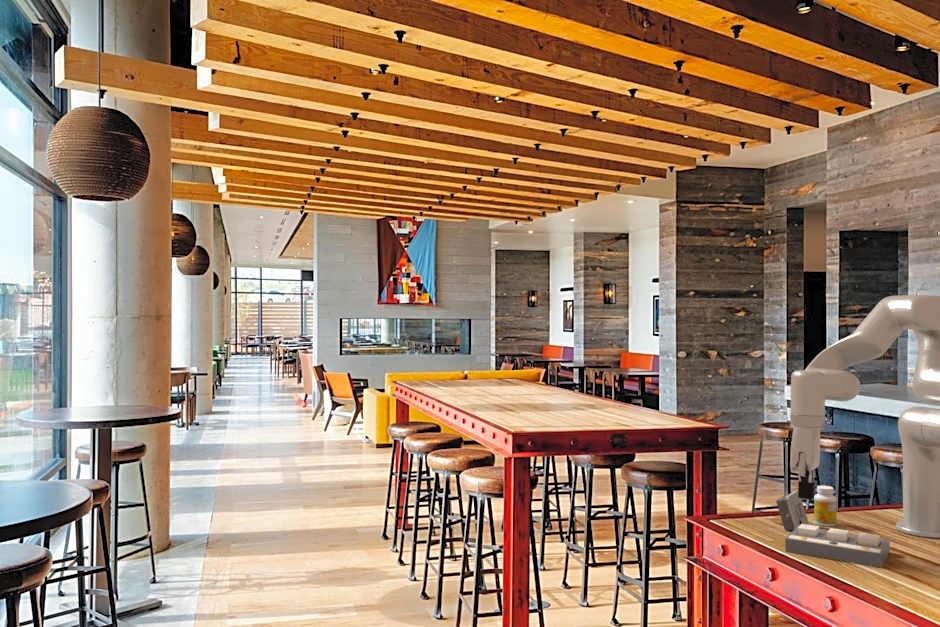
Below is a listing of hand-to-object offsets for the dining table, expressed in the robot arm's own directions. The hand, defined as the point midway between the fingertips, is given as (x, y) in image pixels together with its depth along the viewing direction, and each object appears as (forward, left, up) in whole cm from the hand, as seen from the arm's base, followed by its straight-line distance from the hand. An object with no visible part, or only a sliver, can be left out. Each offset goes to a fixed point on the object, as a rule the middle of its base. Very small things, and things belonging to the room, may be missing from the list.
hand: (806, 498), depth 181 cm
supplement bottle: (-23, 0, -12) cm, 26 cm away
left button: (-1, 0, -10) cm, 10 cm away
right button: (-1, +13, -10) cm, 16 cm away
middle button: (-1, +7, -10) cm, 12 cm away
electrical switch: (-14, -6, -12) cm, 19 cm away
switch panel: (0, +7, -12) cm, 13 cm away
